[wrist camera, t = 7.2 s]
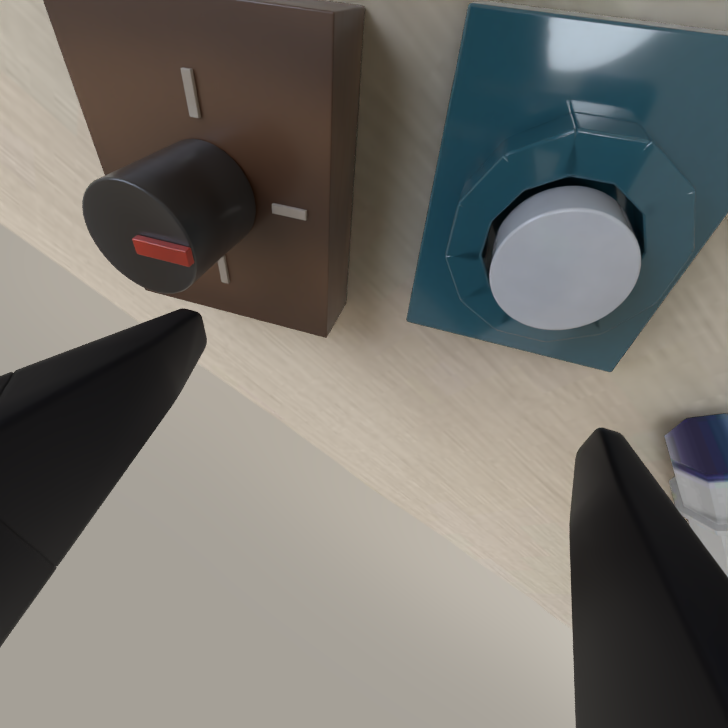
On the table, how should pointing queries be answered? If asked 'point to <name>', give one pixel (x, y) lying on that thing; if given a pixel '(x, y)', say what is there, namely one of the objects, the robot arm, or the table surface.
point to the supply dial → (170, 214)
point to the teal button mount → (573, 160)
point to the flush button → (564, 258)
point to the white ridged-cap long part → (702, 479)
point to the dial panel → (237, 128)
